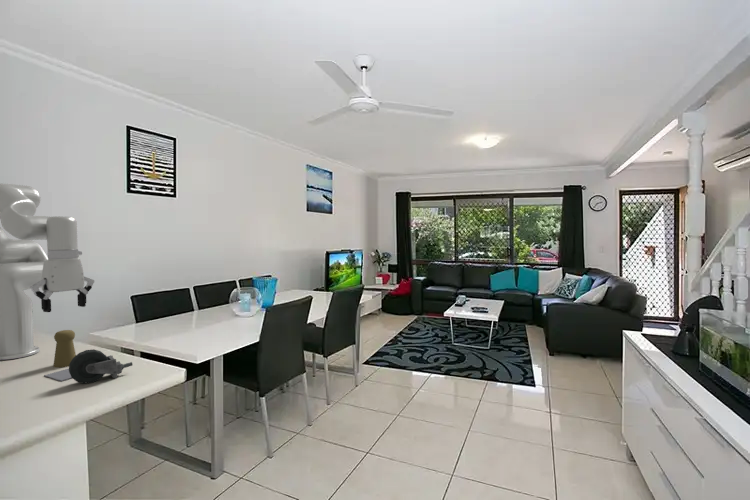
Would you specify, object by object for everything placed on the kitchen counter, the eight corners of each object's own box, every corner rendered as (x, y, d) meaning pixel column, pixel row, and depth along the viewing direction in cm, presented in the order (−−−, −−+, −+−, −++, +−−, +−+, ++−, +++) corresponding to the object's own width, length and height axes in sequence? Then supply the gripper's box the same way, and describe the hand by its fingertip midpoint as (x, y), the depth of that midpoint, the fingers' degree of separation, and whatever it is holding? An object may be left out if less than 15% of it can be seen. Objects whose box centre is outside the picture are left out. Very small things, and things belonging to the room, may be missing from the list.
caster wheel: (73, 392, 107) (135, 373, 117) (68, 358, 105) (131, 342, 116) (70, 386, 111) (130, 368, 121) (65, 353, 109) (126, 338, 120)
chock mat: (44, 376, 115) (44, 375, 115) (85, 364, 125) (84, 364, 125) (61, 381, 111) (61, 380, 111) (102, 369, 121) (102, 368, 121)
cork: (63, 368, 122) (62, 333, 121) (48, 366, 123) (47, 332, 122) (81, 362, 127) (81, 329, 127) (66, 360, 129) (66, 327, 128)
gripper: (85, 254, 133) (87, 303, 134) (23, 256, 117) (25, 313, 118) (99, 254, 130) (100, 305, 130) (36, 257, 114) (38, 315, 115)
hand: (65, 309), depth 124 cm, fingers open, 9 cm apart
